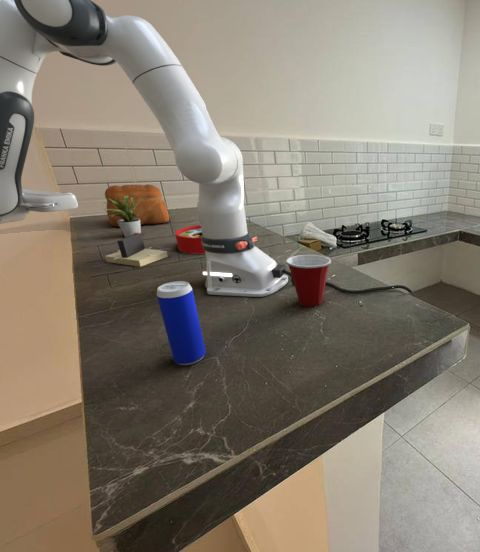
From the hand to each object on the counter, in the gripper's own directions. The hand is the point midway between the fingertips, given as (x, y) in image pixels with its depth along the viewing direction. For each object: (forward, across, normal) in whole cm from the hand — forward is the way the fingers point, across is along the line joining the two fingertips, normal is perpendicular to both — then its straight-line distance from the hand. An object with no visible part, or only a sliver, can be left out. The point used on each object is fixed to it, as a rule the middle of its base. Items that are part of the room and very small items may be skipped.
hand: (68, 195), depth 88 cm
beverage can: (-28, -59, +22) cm, 69 cm away
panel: (+11, -3, +22) cm, 25 cm away
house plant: (+32, +24, +22) cm, 46 cm away
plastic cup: (0, -70, +22) cm, 74 cm away
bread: (+49, +38, +22) cm, 66 cm away
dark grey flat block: (+11, -2, +20) cm, 23 cm away
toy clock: (+31, -13, +22) cm, 40 cm away
